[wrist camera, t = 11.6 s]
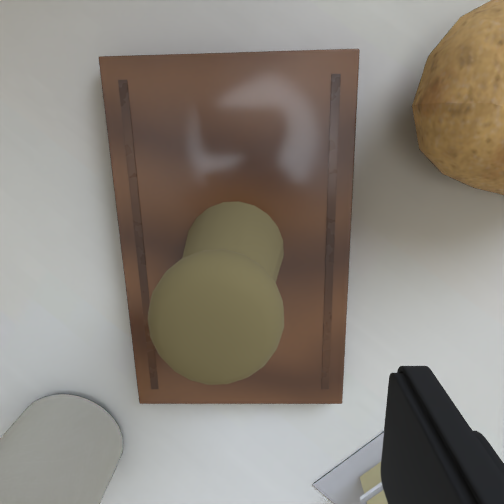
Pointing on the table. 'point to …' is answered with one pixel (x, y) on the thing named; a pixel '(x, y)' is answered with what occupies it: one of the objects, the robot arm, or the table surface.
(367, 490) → the stacked layers on plate
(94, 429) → the travel mug
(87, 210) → the table surface
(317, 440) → the table surface
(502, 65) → the potato
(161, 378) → the cutting board
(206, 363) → the olive tapered rounded piece
